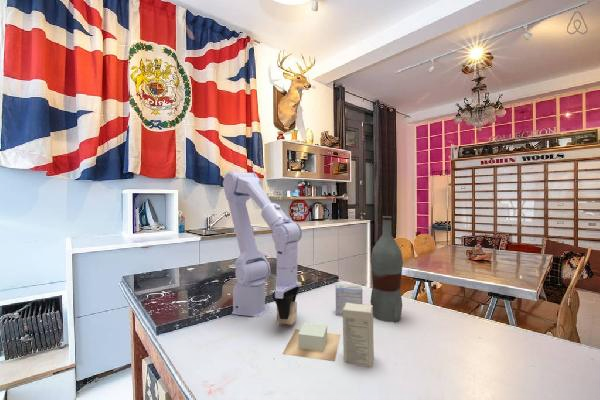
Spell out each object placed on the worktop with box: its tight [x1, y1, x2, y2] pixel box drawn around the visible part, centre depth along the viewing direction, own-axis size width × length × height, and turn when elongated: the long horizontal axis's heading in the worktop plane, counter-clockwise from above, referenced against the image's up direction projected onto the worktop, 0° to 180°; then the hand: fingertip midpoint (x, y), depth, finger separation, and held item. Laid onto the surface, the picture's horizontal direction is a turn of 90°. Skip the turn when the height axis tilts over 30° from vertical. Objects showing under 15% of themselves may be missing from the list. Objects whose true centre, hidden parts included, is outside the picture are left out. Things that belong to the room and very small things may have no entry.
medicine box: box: [335, 283, 364, 317], centre depth 88 cm, size 8×4×9 cm, turn 84°
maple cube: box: [276, 301, 298, 326], centre depth 81 cm, size 4×4×4 cm
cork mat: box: [282, 328, 341, 362], centre depth 71 cm, size 12×12×1 cm
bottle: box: [370, 215, 404, 323], centre depth 86 cm, size 9×9×30 cm
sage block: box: [298, 322, 328, 352], centre depth 71 cm, size 6×6×4 cm
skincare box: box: [342, 303, 375, 368], centre depth 64 cm, size 6×4×12 cm
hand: (286, 314), depth 81 cm, fingers closed on maple cube, 4 cm apart
